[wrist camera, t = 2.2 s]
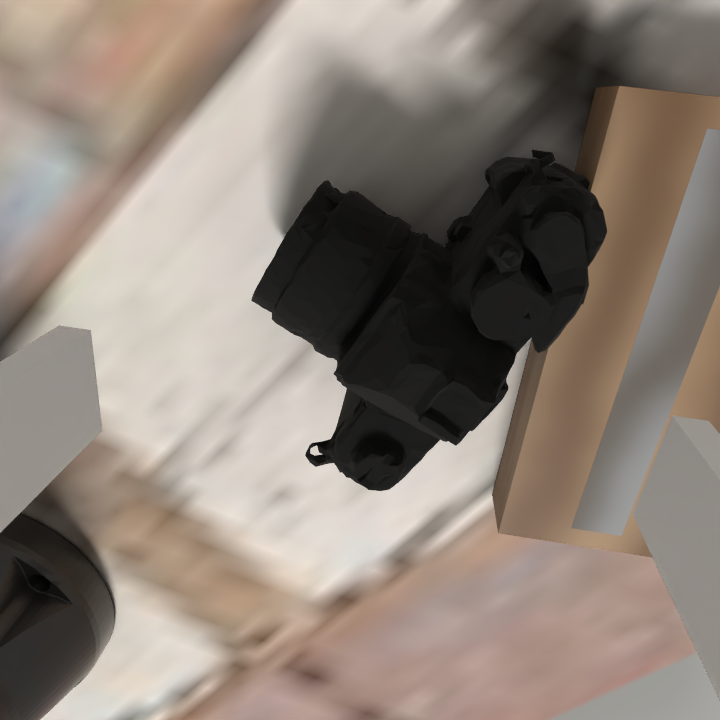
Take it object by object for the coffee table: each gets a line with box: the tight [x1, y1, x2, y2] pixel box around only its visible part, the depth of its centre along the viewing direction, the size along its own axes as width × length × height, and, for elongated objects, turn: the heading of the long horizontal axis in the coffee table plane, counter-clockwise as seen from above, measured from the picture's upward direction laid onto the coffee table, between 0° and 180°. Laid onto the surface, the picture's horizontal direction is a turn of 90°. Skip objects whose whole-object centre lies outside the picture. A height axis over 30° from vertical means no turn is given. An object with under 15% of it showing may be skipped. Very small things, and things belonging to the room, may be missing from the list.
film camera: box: [252, 150, 607, 491], centre depth 22 cm, size 15×10×9 cm, turn 147°
